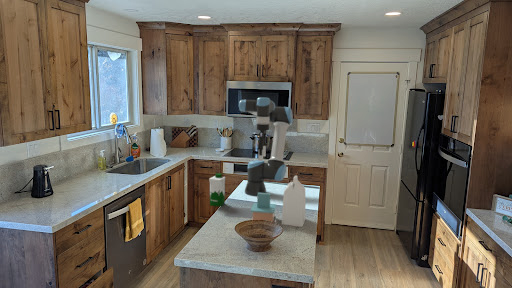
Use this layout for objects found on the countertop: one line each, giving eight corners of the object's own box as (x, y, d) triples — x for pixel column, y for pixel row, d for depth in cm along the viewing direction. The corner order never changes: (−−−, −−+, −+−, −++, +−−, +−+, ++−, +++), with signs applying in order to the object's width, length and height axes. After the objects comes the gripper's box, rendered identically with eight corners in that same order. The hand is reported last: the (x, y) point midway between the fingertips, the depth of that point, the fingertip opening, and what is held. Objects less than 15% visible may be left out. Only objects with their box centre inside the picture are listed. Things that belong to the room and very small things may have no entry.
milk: (302, 226, 191) (304, 180, 187) (281, 224, 194) (283, 178, 190) (305, 219, 202) (307, 175, 198) (285, 216, 205) (287, 173, 201)
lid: (253, 204, 206) (254, 189, 204) (276, 205, 204) (276, 190, 203) (250, 211, 193) (250, 196, 192) (274, 213, 191) (274, 197, 190)
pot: (255, 216, 206) (255, 204, 205) (274, 217, 204) (274, 206, 203) (252, 223, 195) (252, 211, 194) (272, 224, 193) (272, 212, 192)
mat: (230, 207, 218) (230, 206, 218) (255, 209, 216) (255, 208, 216) (224, 217, 203) (224, 216, 203) (251, 219, 200) (251, 218, 200)
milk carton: (226, 204, 225) (226, 173, 222) (220, 208, 217) (220, 177, 214) (214, 202, 228) (214, 172, 225) (207, 206, 220) (207, 175, 217)
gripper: (259, 121, 223) (258, 154, 226) (253, 125, 198) (252, 162, 202) (271, 121, 222) (270, 154, 225) (266, 126, 197) (265, 162, 201)
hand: (262, 158), depth 214 cm, fingers open, 13 cm apart
